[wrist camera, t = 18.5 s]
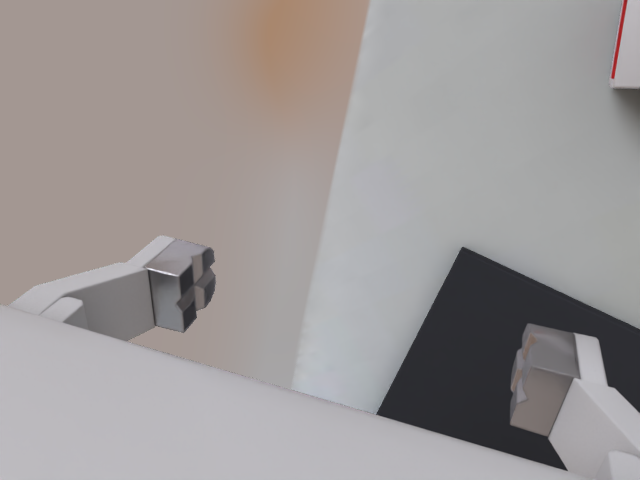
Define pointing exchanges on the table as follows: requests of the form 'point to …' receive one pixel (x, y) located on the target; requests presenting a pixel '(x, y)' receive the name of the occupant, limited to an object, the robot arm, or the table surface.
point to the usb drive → (627, 48)
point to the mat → (496, 356)
